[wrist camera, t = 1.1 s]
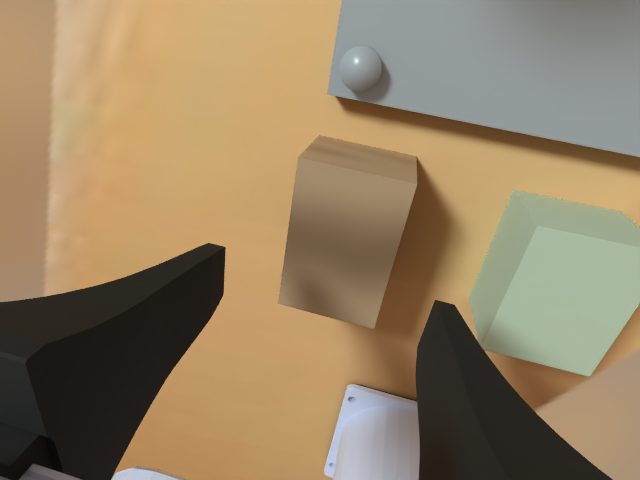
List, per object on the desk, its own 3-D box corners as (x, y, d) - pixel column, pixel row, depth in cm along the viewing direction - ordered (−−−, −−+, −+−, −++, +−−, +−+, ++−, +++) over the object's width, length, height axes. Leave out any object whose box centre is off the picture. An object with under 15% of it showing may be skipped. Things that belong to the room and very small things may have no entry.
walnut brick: (380, 281, 21) (373, 329, 18) (300, 260, 21) (278, 303, 18) (416, 155, 18) (417, 184, 14) (320, 134, 18) (298, 157, 15)
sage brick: (558, 317, 20) (589, 376, 16) (468, 295, 20) (480, 348, 17) (619, 210, 17) (673, 254, 13) (512, 188, 17) (537, 225, 14)
